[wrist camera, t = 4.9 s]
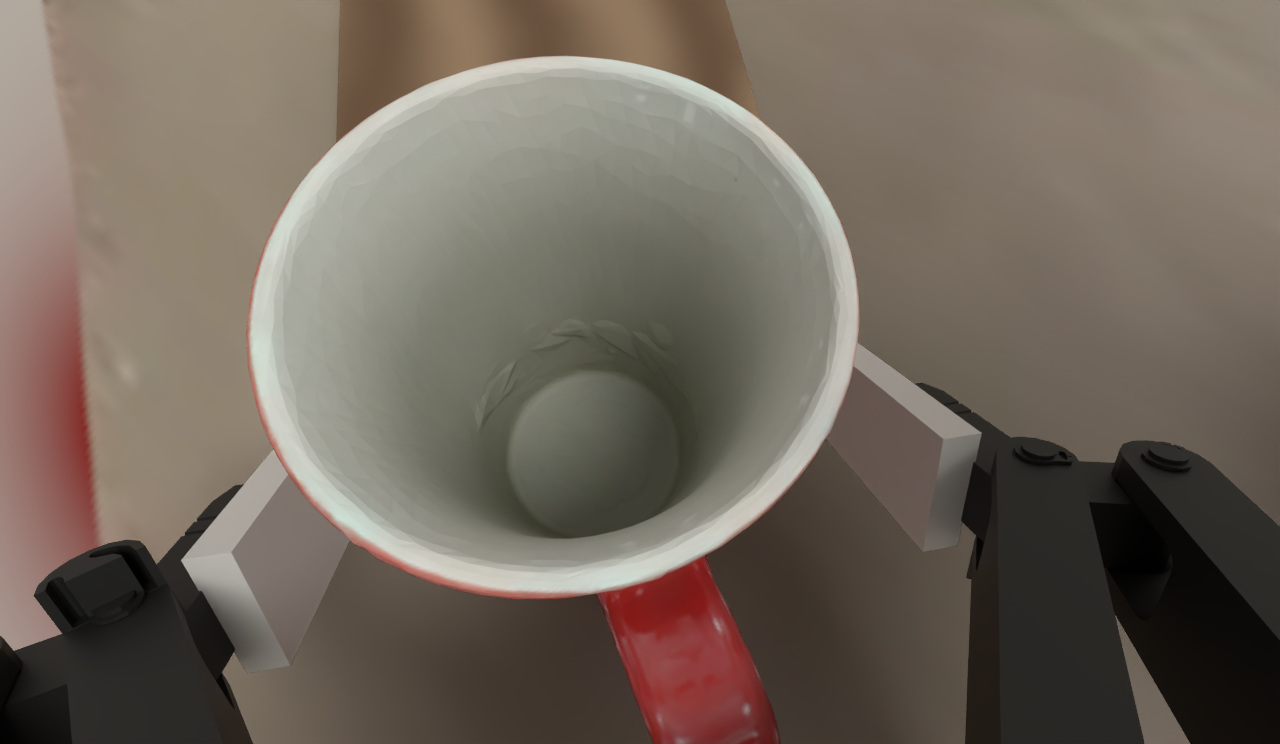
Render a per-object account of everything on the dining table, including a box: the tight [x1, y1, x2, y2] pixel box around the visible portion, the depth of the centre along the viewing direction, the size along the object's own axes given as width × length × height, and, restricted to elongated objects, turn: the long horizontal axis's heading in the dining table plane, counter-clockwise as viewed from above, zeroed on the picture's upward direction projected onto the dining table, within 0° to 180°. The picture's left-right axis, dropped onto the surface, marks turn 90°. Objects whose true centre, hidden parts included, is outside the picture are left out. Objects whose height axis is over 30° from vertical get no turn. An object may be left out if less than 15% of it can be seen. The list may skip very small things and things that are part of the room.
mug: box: [246, 56, 859, 744], centre depth 14 cm, size 13×9×14 cm
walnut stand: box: [336, 0, 761, 143], centre depth 24 cm, size 16×16×4 cm
